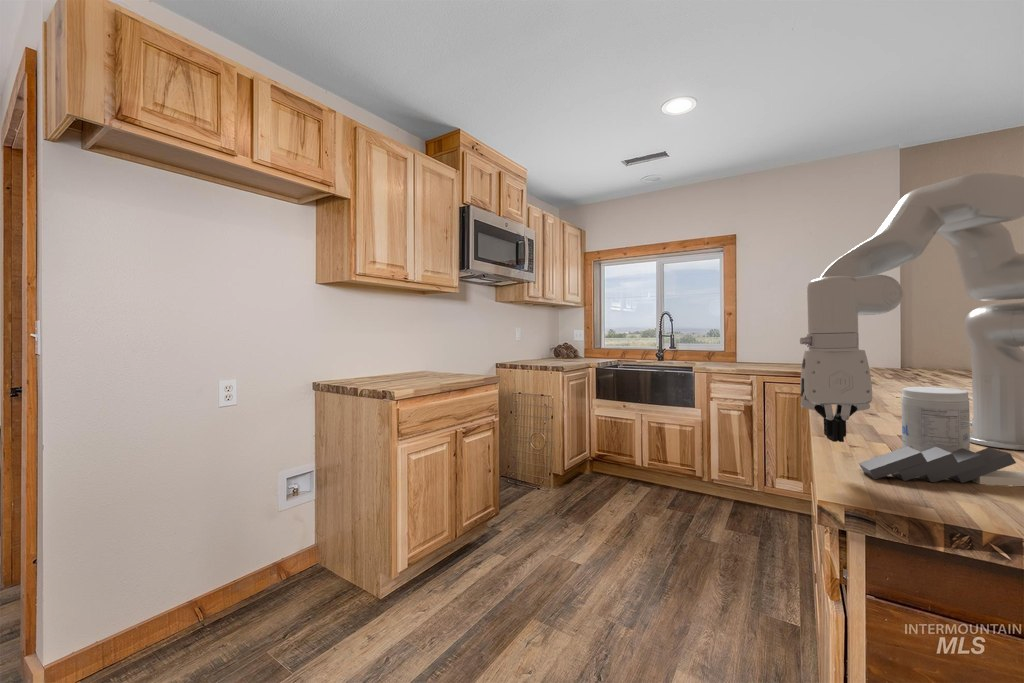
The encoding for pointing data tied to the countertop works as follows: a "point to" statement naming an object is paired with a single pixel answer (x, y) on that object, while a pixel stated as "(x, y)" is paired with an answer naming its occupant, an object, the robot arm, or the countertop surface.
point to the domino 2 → (928, 464)
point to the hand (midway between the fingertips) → (835, 439)
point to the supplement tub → (935, 418)
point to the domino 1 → (892, 462)
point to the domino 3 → (957, 465)
